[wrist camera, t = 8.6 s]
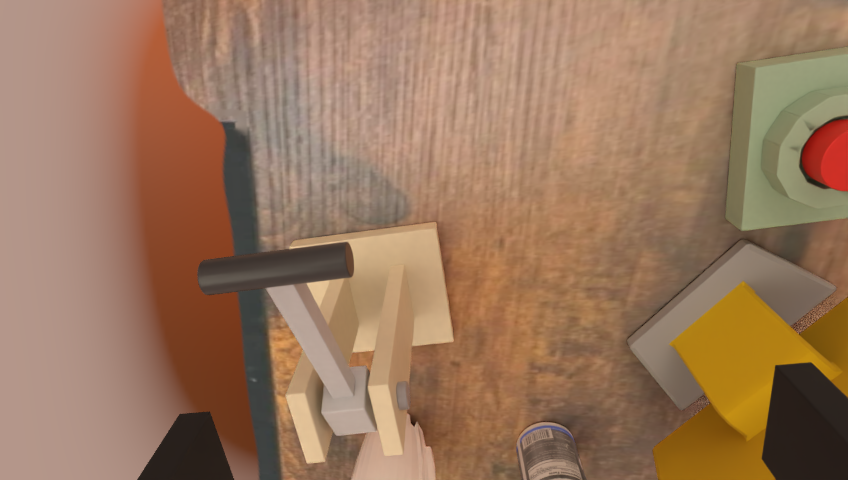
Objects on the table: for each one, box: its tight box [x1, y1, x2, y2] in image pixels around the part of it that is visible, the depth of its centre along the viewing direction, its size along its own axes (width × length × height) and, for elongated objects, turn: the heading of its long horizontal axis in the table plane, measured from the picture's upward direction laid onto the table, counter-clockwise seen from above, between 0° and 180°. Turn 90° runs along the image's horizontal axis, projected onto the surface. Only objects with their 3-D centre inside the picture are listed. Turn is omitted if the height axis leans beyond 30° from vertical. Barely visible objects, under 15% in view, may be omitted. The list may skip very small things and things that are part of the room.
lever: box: [198, 242, 377, 436], centre depth 24 cm, size 13×6×2 cm, turn 9°
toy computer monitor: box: [627, 239, 848, 480], centre depth 32 cm, size 20×8×16 cm, turn 142°
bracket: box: [285, 222, 454, 463], centre depth 33 cm, size 9×10×14 cm
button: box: [802, 119, 848, 191], centre depth 30 cm, size 4×4×2 cm
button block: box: [725, 47, 848, 231], centre depth 32 cm, size 10×8×4 cm
